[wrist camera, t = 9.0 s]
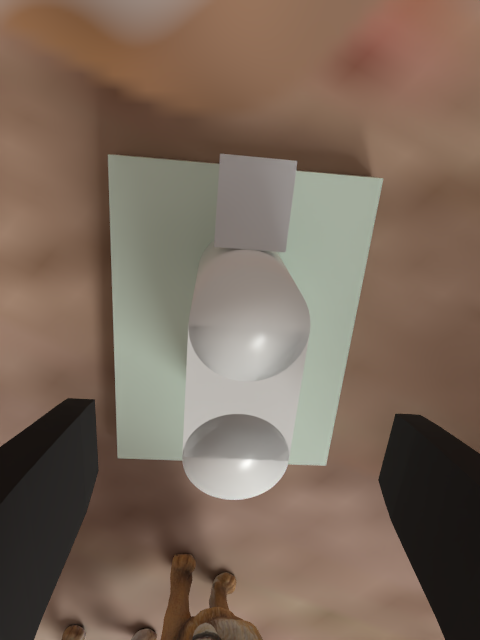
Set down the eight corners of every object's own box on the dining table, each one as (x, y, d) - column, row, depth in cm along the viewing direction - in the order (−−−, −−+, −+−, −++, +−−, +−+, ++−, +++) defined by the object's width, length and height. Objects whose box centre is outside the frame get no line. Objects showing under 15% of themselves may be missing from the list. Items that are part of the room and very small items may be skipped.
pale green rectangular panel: (373, 176, 15) (382, 178, 14) (320, 450, 19) (325, 465, 18) (115, 154, 14) (107, 154, 13) (122, 442, 19) (117, 458, 18)
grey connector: (296, 160, 14) (337, 165, 9) (264, 406, 17) (282, 501, 12) (204, 151, 13) (196, 151, 9) (191, 402, 17) (180, 498, 12)
